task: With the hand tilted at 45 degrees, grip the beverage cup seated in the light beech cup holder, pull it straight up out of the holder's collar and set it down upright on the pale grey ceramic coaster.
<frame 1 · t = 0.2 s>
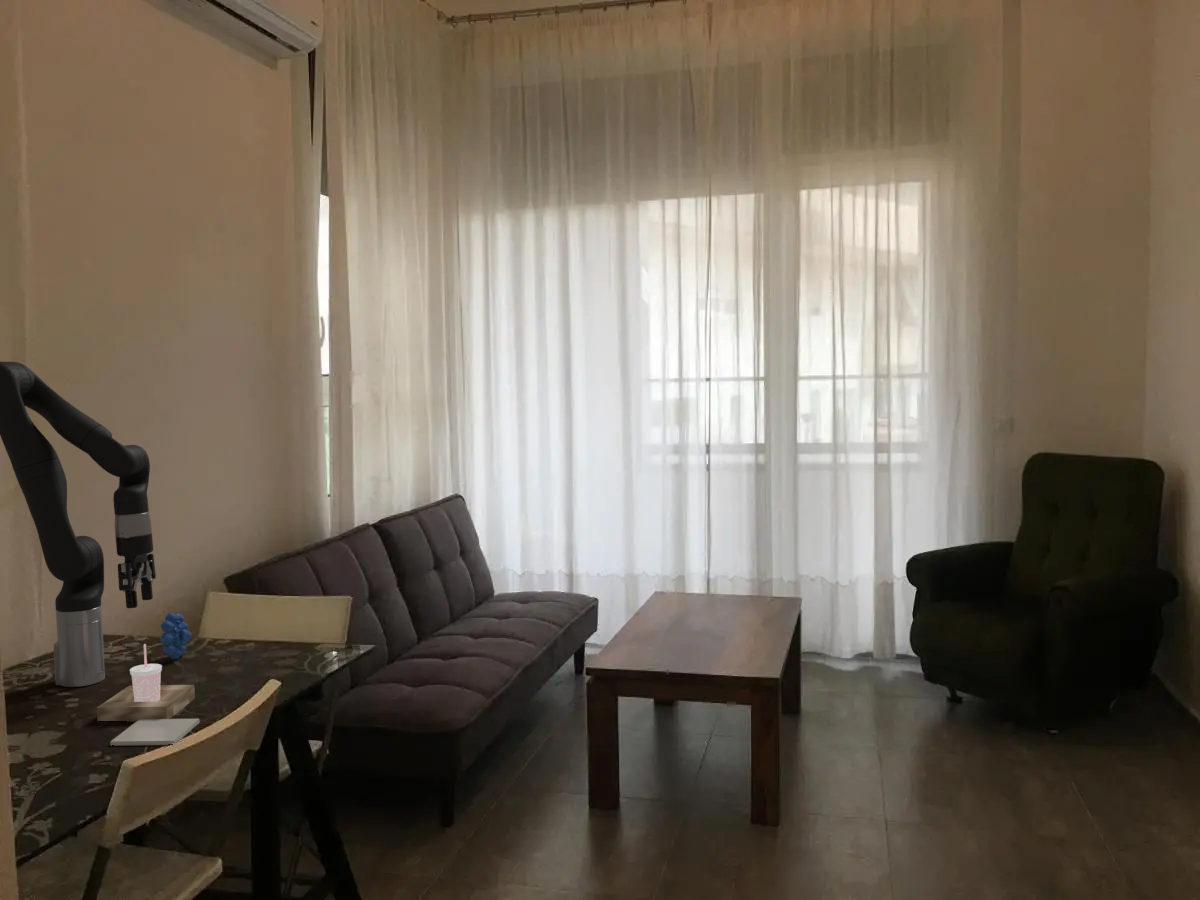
hand: (139, 603, 225), 18 cm above the table, tool pointing down, fingers open, 8 cm apart
coaster: (156, 733, 193), on the table
grapes: (179, 660, 244), on the table
beverage cup: (147, 710, 207), resting in cup holder
cup holder: (147, 709, 207), on the table
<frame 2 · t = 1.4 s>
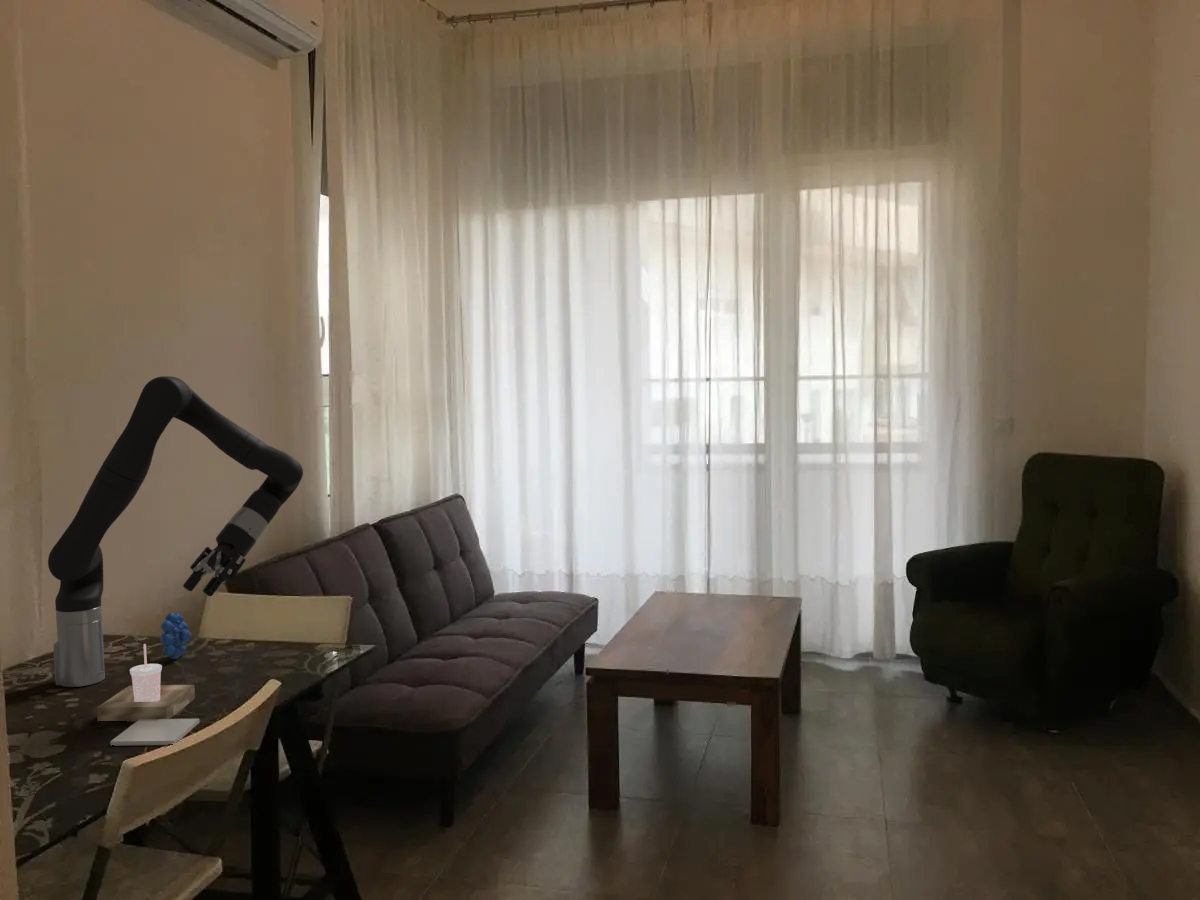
hand: (196, 591, 214), 23 cm above the table, tool tilted 45°, fingers open, 8 cm apart
nothing on the table moved.
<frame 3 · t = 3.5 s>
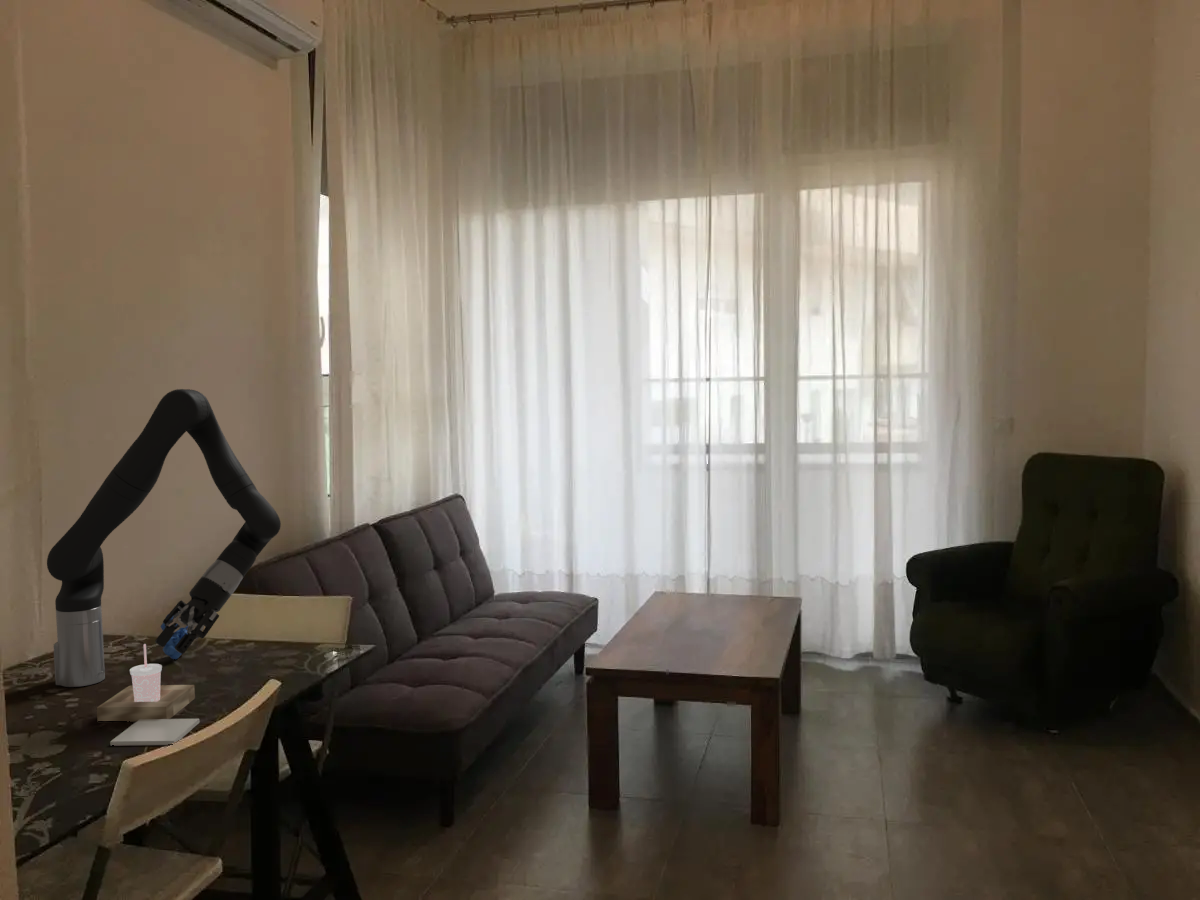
hand: (168, 648, 210), 12 cm above the table, tool tilted 45°, fingers open, 8 cm apart
nothing on the table moved.
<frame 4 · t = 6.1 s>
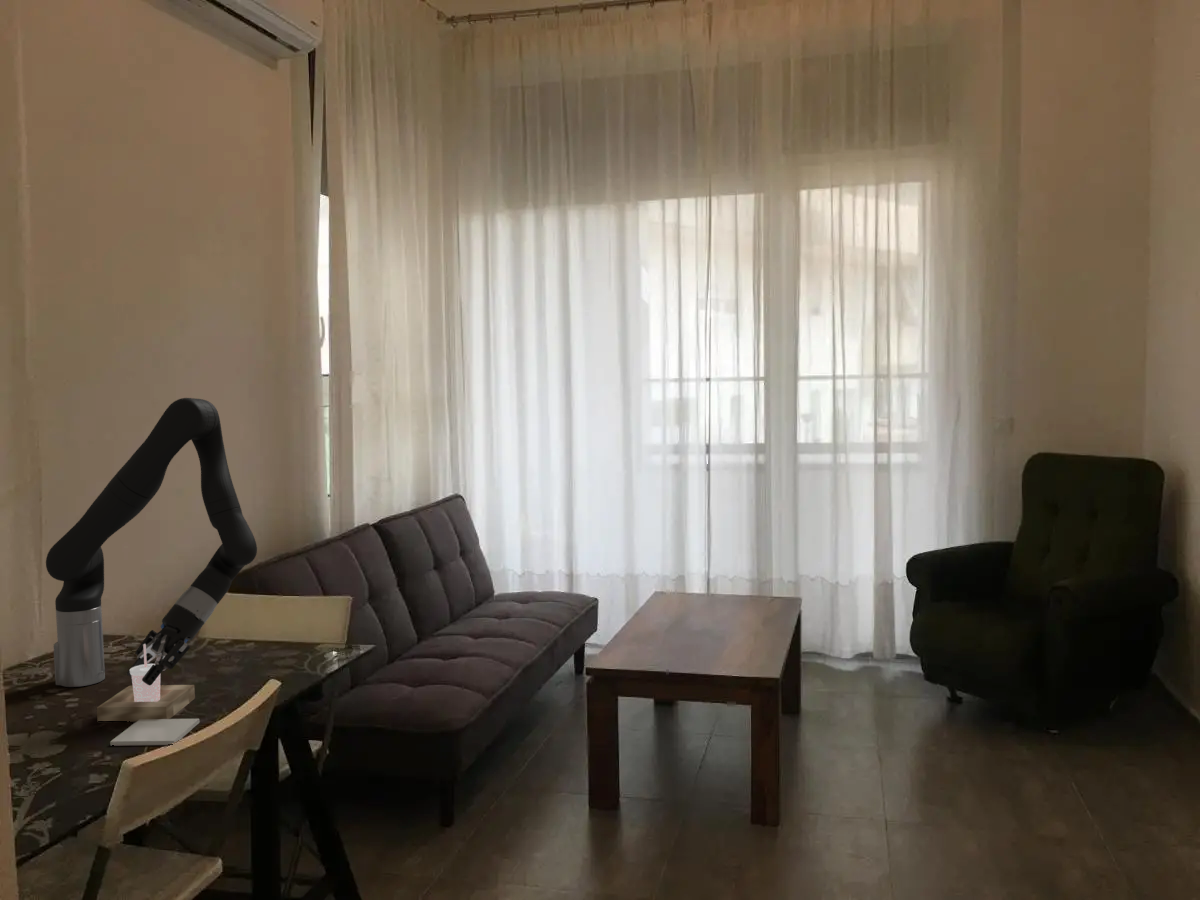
hand: (138, 679, 205), 7 cm above the table, tool tilted 45°, fingers closed on beverage cup, 6 cm apart
beverage cup: (147, 710, 207), resting in cup holder, touching gripper
everything else where it was.
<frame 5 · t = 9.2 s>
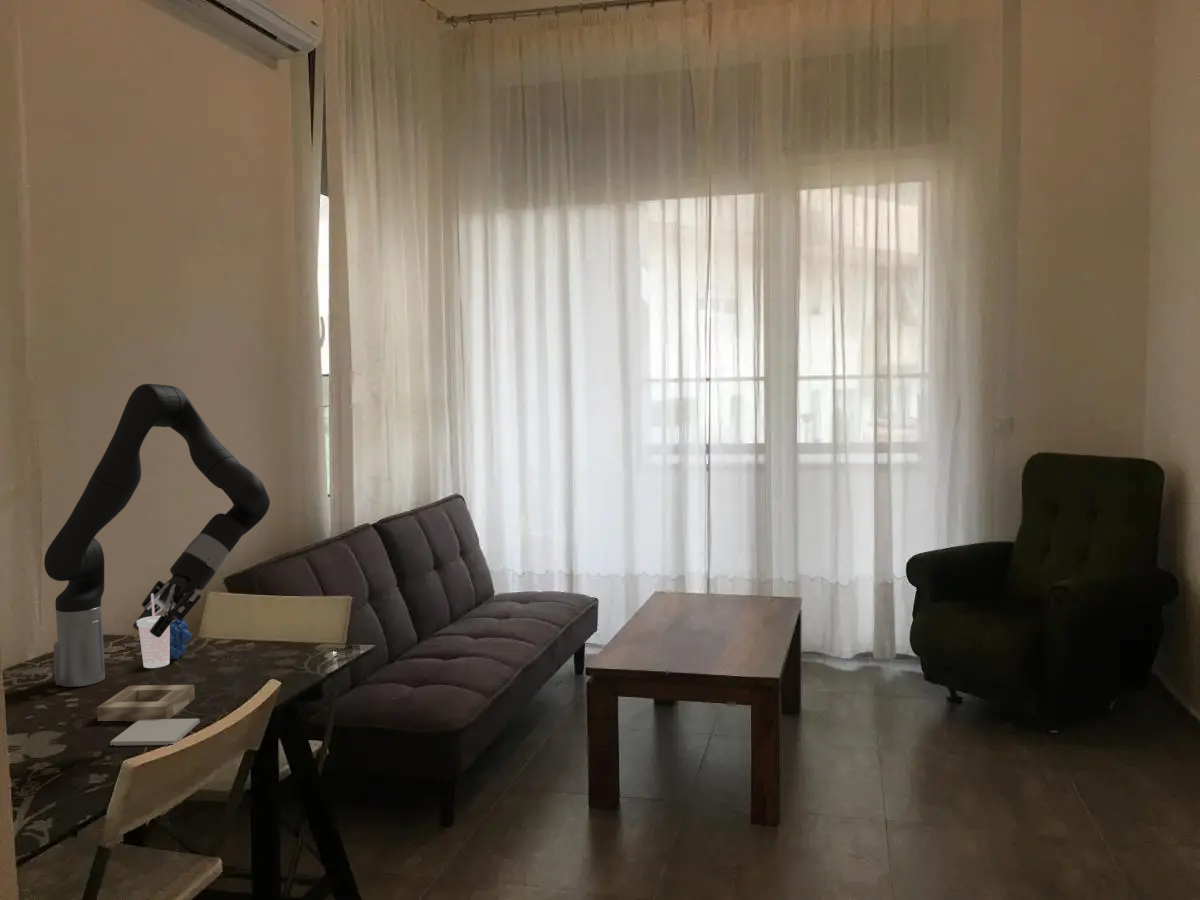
hand: (145, 632, 191), 20 cm above the table, tool tilted 45°, fingers closed on beverage cup, 6 cm apart
beverage cup: (156, 665, 192), point 13 cm above the table, touching gripper
everything else where it was.
when the fingers open (9 cm above the table, at t = 12.8 s): beverage cup drops 1 cm, resting on coaster.
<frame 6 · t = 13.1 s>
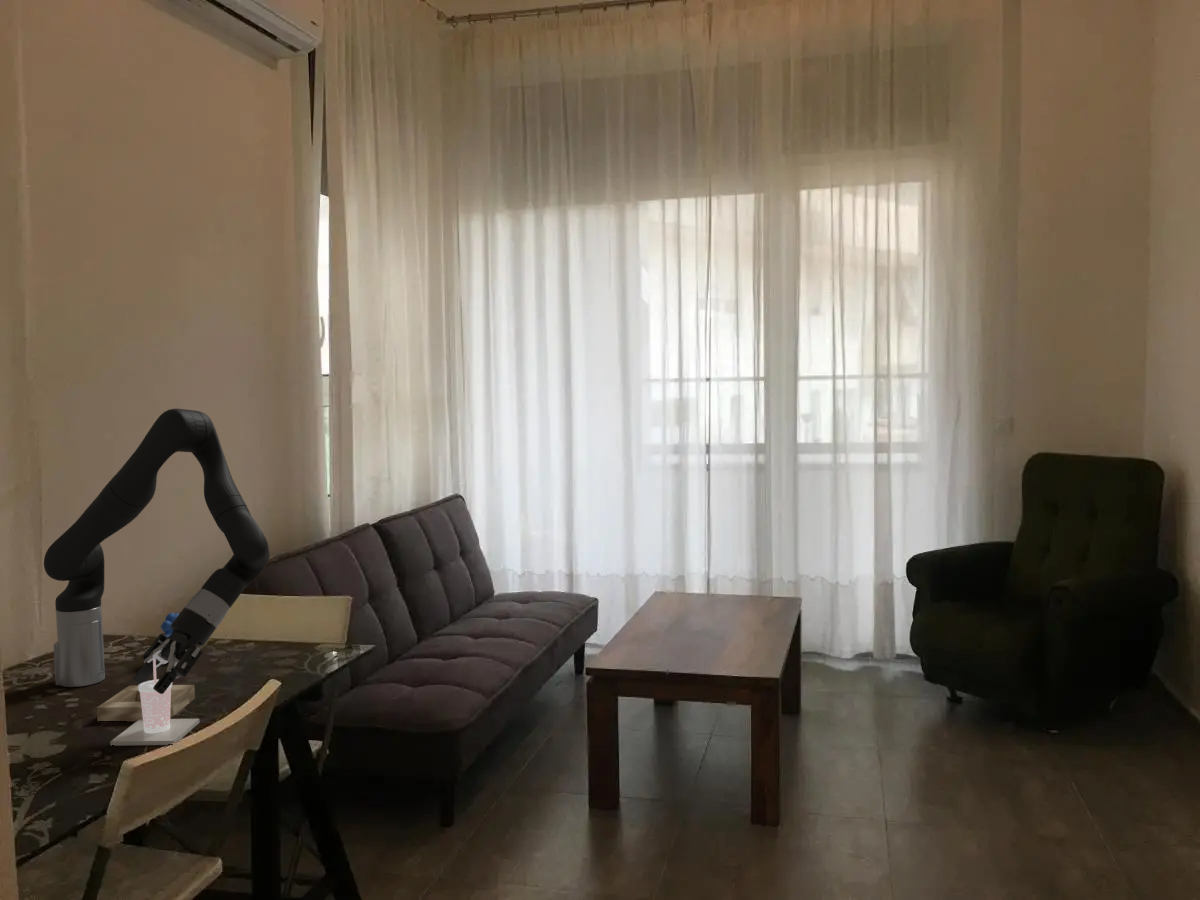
hand: (147, 687, 191), 10 cm above the table, tool tilted 45°, fingers open, 8 cm apart
beverage cup: (157, 729, 193), point 1 cm above the table, touching coaster
everything else where it was.
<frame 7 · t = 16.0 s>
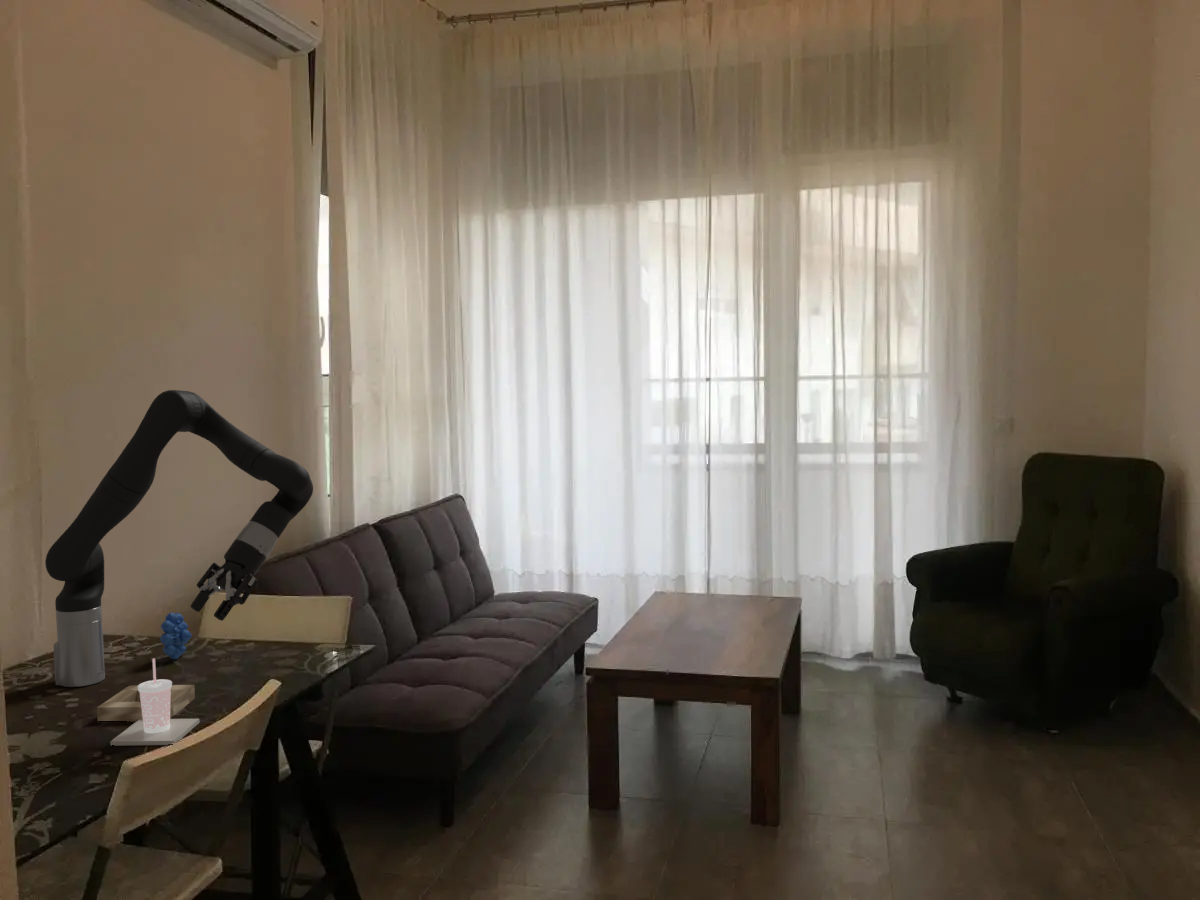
hand: (205, 614, 203), 21 cm above the table, tool tilted 40°, fingers open, 8 cm apart
nothing on the table moved.
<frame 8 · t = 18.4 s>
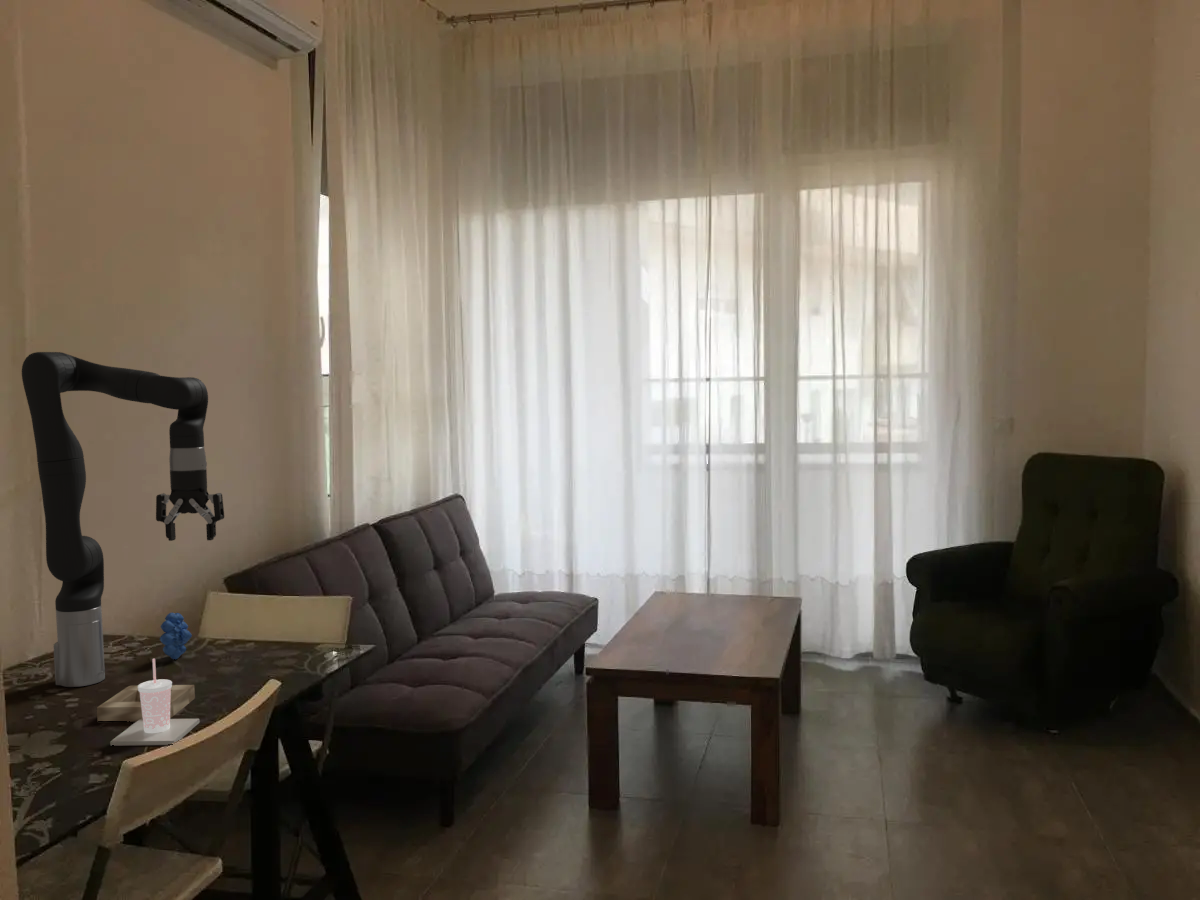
hand: (191, 540, 220), 33 cm above the table, tool pointing down, fingers open, 8 cm apart
nothing on the table moved.
at the end: beverage cup inside the target area on the coaster (0.4 cm from its centre), point 0.6 cm above the coaster's base; beverage cup tilted 0°; the gripper is holding nothing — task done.
